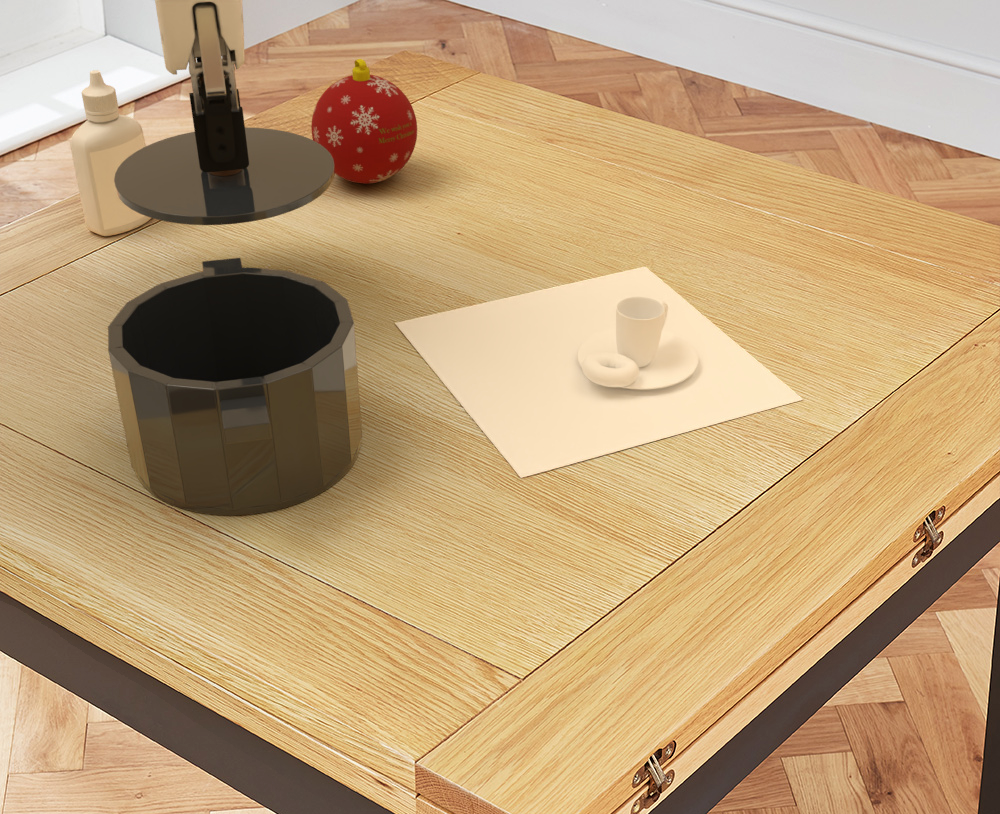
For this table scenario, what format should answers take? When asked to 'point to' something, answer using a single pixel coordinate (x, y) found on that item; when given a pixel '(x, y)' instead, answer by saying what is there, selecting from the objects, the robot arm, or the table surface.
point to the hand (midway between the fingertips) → (222, 157)
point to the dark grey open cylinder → (237, 388)
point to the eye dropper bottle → (104, 159)
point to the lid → (224, 179)
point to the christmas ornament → (365, 126)
